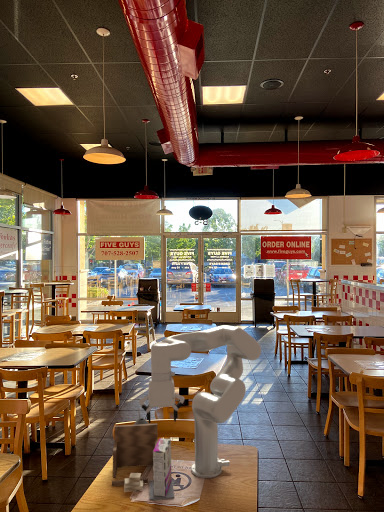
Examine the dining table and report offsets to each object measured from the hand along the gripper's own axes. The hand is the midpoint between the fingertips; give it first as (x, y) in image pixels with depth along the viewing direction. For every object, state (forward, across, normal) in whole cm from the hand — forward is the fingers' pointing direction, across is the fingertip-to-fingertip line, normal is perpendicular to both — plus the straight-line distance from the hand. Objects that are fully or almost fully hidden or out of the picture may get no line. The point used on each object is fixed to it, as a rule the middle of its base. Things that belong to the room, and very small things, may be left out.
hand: (162, 421), depth 149 cm
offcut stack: (+26, +11, -2) cm, 28 cm away
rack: (+26, +11, -11) cm, 30 cm away
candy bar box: (+25, 0, 0) cm, 25 cm away
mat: (+26, +1, +1) cm, 26 cm away
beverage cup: (+26, +9, -29) cm, 40 cm away
